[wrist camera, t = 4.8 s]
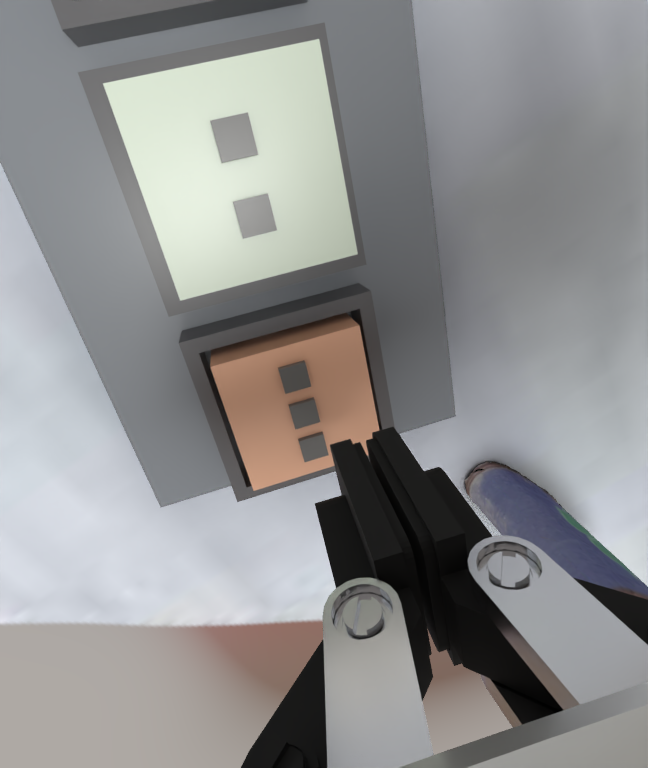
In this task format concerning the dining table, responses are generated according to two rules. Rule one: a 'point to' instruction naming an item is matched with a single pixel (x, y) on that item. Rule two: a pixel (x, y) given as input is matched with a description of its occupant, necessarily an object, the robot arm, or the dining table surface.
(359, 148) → the keypad board
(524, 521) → the flask
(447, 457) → the dining table surface
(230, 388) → the tile
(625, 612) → the robot arm
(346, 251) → the tile
